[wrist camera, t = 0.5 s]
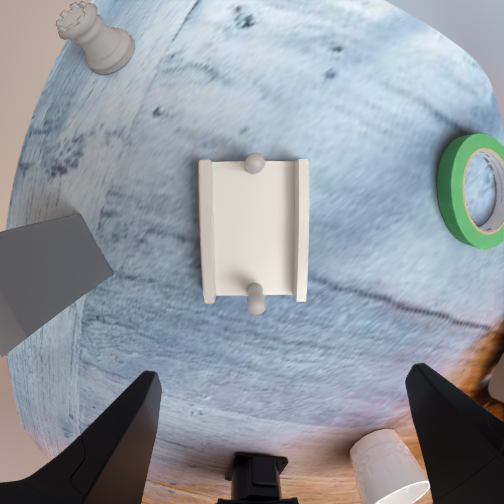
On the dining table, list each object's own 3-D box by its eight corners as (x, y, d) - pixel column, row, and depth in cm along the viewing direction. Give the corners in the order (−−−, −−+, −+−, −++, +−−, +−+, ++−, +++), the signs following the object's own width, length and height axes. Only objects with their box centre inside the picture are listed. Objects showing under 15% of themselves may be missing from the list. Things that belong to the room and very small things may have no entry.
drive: (114, 273, 23) (28, 337, 11) (84, 293, 23) (2, 357, 11) (80, 213, 21) (-23, 238, 10) (53, 237, 22) (-43, 271, 10)
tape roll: (421, 222, 23) (438, 226, 20) (446, 115, 20) (463, 111, 18) (487, 257, 23) (503, 263, 21) (508, 166, 21) (524, 166, 19)
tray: (303, 292, 23) (315, 312, 19) (204, 293, 23) (196, 314, 19) (306, 160, 21) (319, 154, 17) (200, 161, 21) (189, 154, 17)
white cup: (411, 427, 28) (443, 478, 18) (375, 464, 29) (396, 515, 19) (370, 421, 27) (400, 483, 17) (332, 460, 28) (350, 520, 19)
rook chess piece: (133, 72, 19) (90, 31, 11) (88, 80, 19) (38, 49, 11) (140, 30, 18) (106, -17, 10) (97, 40, 18) (55, 2, 10)
